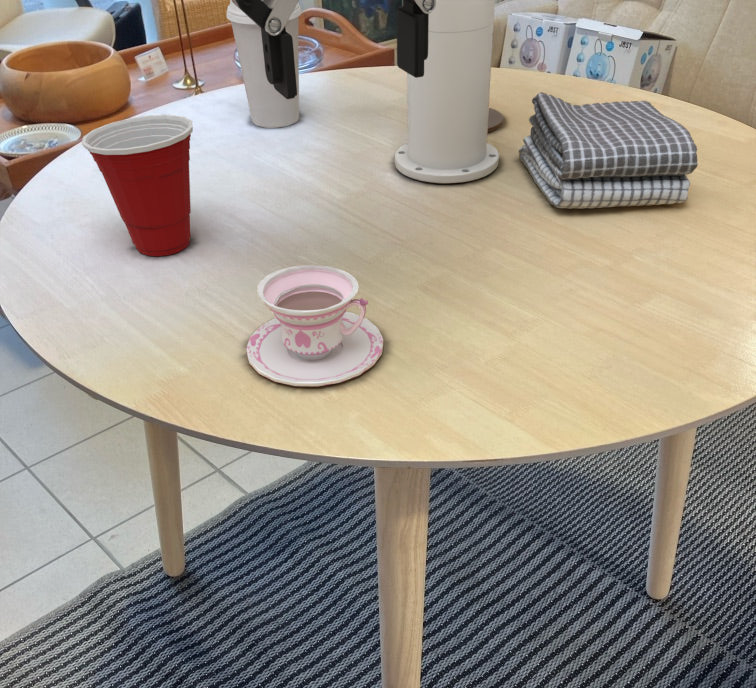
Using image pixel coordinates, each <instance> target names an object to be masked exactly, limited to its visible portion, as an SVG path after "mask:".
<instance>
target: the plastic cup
mask: <svg viewBox="0 0 756 688" xmlns="http://www.w3.org/2000/svg"><path fill="white" fill-rule="evenodd" d="M193 125H194V124H193V120H191V119H190V118H187V117H185V116H182V115H174V114H154V115H153V114H151V115H143V116H137V117H130V118H127V119H121V120H118V121H113V122H110V123H107V124H104V125H102V126H100V127H97V128H94V129H92V130H91V131H89V132H88V133H86V134H85V135H83V137H82V140H81V145H82V147H83V148H84V149H86V150H87V151H88V153H89V154H90V155H91V157H92V159H93V161H94V162H95V163H96V166H97V168H98V170H99V172H100V173H101V174H102V177H103V179H104V181H105V183H106V186H107V188H108V190H109V192H110V195H111V197H112V199H113V202H114V205H115V207H116V208H117V211H118V214H119V215H120V217H121V220H122V221H123V223H124V225H125V227H126V230H127V232H128V235H129V237H130V239H131V242H132V244H133V245H134V247H135V249H136V250H137V251H138V252H139V253H140V254H142V255H145V256H148V257H164V256H171V255H174V254H178V253H180V252H181V251H183V250H185V249H186V248H187V247H188V246H189V245H190V243H191V239H190V238H191V213H192V212H191V210H192V209H191V182H190V180H191V179H190V160H191V158H190V157H191V155H190V150H191V144H190V143H191V142H190V141H191V136H192V134H193V130H194V129H193V128H194V126H193Z"/></svg>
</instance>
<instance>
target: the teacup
mask: <svg viewBox="0 0 756 688" xmlns="http://www.w3.org/2000/svg"><path fill="white" fill-rule="evenodd" d="M359 289H360V286H359V282H358V280H357V279H356V277H355V276H354V275H352V274H351V273H349V272H348V271H345V270H343V269H341V268H337V267H333V266H328V265H319V264H316V265H315V264H303V265H294V266H289V267H284V268H280V269H278V270H275V271H272V272H271V273H269V274H267V275H265V277H263V278H262V279H261V280H260V281H259V282H258V284H257V289H256V291H257V292H256V293H257V296H258V297H259V298H260V299H261V301H262V302H263V304H264V305H265V306H266V308H267V309H269V311H270V312H271V313H272V314H273V316H274V318H272V319H270V320H269V321H267V322H265V323H263V324H262V325H260V326H259V327H258V328H257V329H256V330H255V331H254V332H253V333H252V334H251V335H250V336H249V339H248V342H247V344H246V348H245V352H246V356H247V361H248V363H249V365H250V366H251V367H252V368H253V370H255V371H256V372H257V373H258V374H259V375H260V376H262V377H265V378H267V379H268V380H271V381H272V382H276V383H280V384H284V385H288V386H292V387H324V386H330V385H334V384H339V383H343V382H345V381H348V380H351V379H354V378H356V377H358V376H360V375H362V374H364V373H365V372H366V371H368V370H369V369H371V368H372V367H373V366H375V364H376V363H377V361H379V359H380V357H381V356H382V354H383V348H384V337H383V335H382V332H381V331H380V329H379V328H378V326H376V325H375V324H374V323H373V322H372V321H370V320H369V319H368V318H366V314H367V305H368V304H369V300H365V299H364V298H363V297H360V299H359V298H355V297H356V295H357V294H358V292H359ZM352 307H358V308H359V310H360V314H357V313H355V312H352V311H347V309H349V308H352Z"/></svg>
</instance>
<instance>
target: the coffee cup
mask: <svg viewBox="0 0 756 688" xmlns="http://www.w3.org/2000/svg"><path fill="white" fill-rule="evenodd" d="M299 2H300V1H299ZM299 2H298V4H297V5H296V7H295V9H294V11H293V12H292V14H291V16H290V18H289V20H288V21H287V23H286V25H285V28H286V32H287V33H289V34H290V35H291V36H292V39H293V49H294V61H295V73H296V85H297V96H295V98H292V99H286V98H285V97H284V96H282V95H281V94H280V93H279V92H278V91H276V90H275V88H274V85H273V84H270V83H269V82H268V80H267V77H266V72H265V63H264V54H263V44H262V35H261V28H260V27H259V26H258V25H257V24H256V23H255V22H254V21H253V20H252V19H250V18H249V17H248V16H247V15H246V14H245V13H244V12H243V11H242V10H241V9H239V8H238V7H237V6H236V5H235V4H234V3H233V2H232V0H230V1H229V4H228V6H227V10H226V17H225V18H226V19H227V20H228V21H229V22H230V23H231V28H232V32H233V37H234V42H235V46H236V52H237V56H238V61H239V65H240V70H241V71H240V72H241V75H242V81H243V85H244V90H245V94H246V99H247V105H248V108H249V114H250V118H251V123H252V124H254V125H255V126H257V127H260V128H265V129H276V128H284V127H288V126H292V125H294V124H296V123H297V122H298V121H299V120H300V60H299V59H300V58H299V55H300V54H299V51H300V50H299V47H300V46H299V44H300V43H299V17H300V16H301V15H302V14H303V11H302V8H301V5H300V3H299Z"/></svg>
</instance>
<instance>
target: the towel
mask: <svg viewBox="0 0 756 688" xmlns="http://www.w3.org/2000/svg"><path fill="white" fill-rule="evenodd" d="M531 103H532V104H533V106H534V107H533V110H534V114H533V115H531V116H529V118H528V121H529V124H530V125H531V128H530V134H529V135H527V136H526V137H524V138H523V139H522V141H523V143H524V145H522V146H521V147H520V148H519V149H518V155H519V160H520V162H522V164H523V165H524V166H525V168H526V169H527V170H528V172H529V174H530V176H531V177H532V179H533V181H534V183H535V184H536V186H537V187H538V188H539V190H540V191H541V192H542V195H544V197H545V198H546V199H547V201H548V202H549V204H550V205H552V206H553V207H555V208H557V209H595V208H596V209H600V208H614V207H634V206H635V207H640V206H641V207H642V206H653V205H654V206H660V205H672V204H673V205H674V204H680V203H686V202H687V201H688V199H689V189H690V185H691V182H690V179H689V178H688V177H687V175H691V174H692V173H694V171H695V170H696V169H697V168H698V164H699V163H698V153H697V151H698V148H697V145H696V143H695V140H694V139H693V137H692V135H691V133H690V131H689V130H688V129H687V128H686V127H685V126H684V125H682V124H681V123H680V122H678V121H676V119H673V118H670V117H668V116H666V115H664V114H663V113H661V112H660V111H659V110H658V109H657V108H655V107H654V105H652V103H651V102H649V101H648V100H640V101H639V100H631V101H626V100H625V101H624V100H622V101H612V102H607V101H606V102H601V103H599V102H595V103H594V102H593V103H590V104H589V103H586V104H581V105H579V104H571V103H570V102H567V101H564V100H563V99H562V98H560V97H555V96H554V95H552V94H547V93H545V92H542V91H540V92H538V93H537V94H536V95H535V96H534V97H533V98H532V99H531Z"/></svg>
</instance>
